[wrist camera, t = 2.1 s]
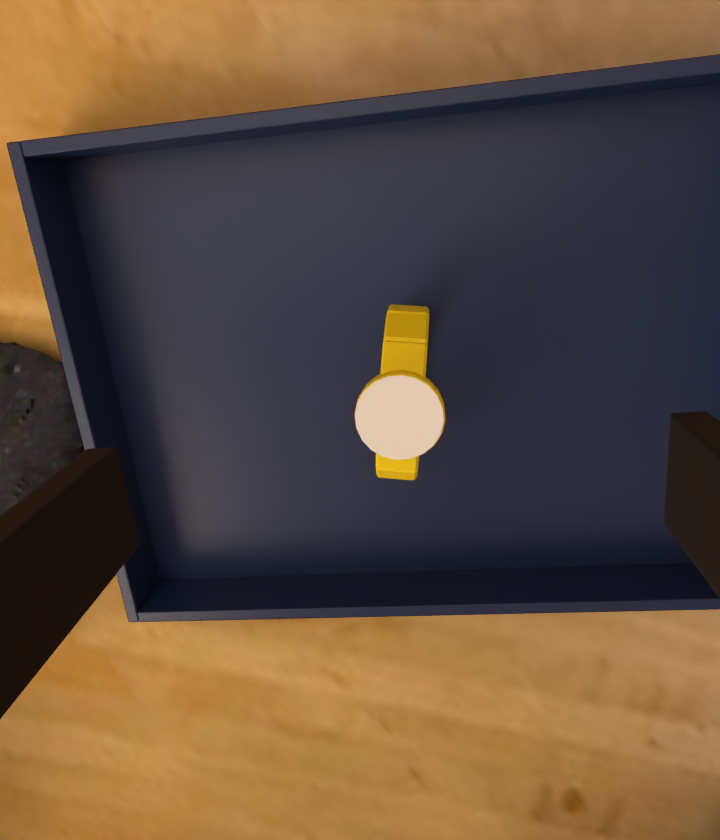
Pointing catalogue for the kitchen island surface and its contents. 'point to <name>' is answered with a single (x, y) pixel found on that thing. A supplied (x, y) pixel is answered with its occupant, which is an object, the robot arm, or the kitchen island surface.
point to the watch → (401, 397)
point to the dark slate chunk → (33, 422)
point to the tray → (364, 331)
